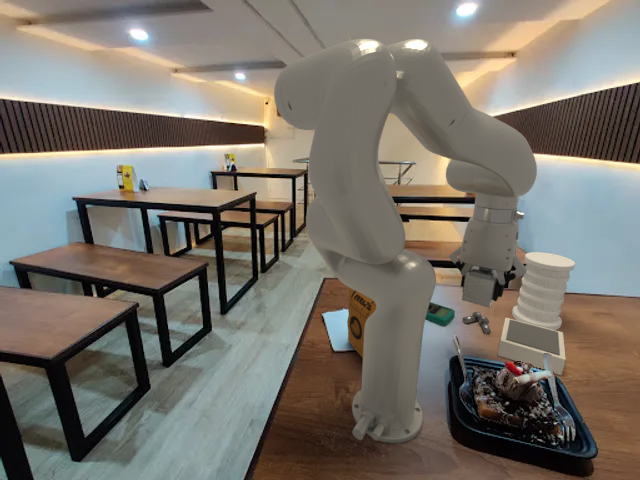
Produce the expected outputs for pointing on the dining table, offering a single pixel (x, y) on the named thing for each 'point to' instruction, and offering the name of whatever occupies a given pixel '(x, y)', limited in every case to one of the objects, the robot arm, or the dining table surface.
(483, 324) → the bolt
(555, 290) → the decorative container
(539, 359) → the stand
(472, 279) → the housing
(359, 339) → the coffee package
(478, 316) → the bolt
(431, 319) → the digital multimeter
